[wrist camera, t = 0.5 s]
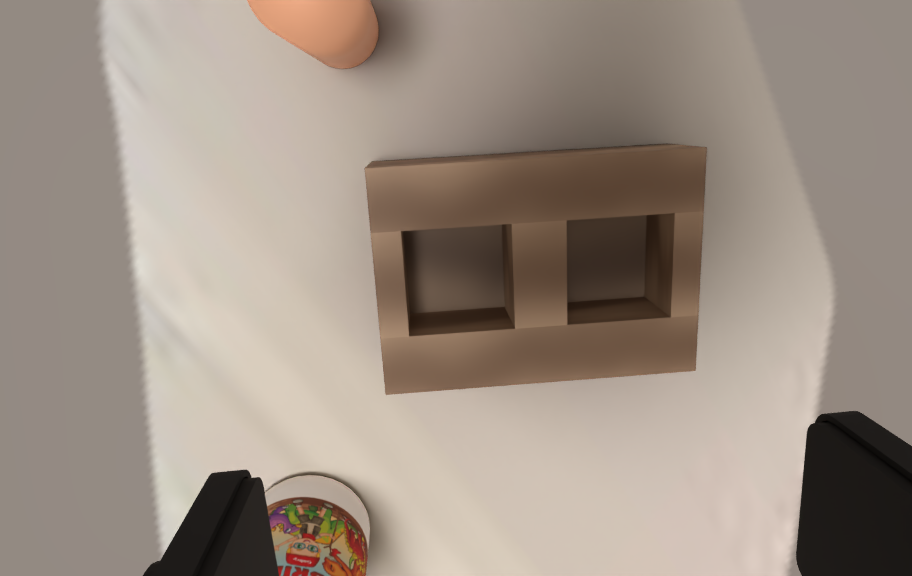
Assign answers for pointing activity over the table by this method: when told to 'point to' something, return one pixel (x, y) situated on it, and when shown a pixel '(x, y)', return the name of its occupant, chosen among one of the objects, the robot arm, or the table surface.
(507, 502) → the table surface
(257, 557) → the robot arm
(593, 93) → the table surface
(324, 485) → the milk bottle
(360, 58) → the pin
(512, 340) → the socket block
